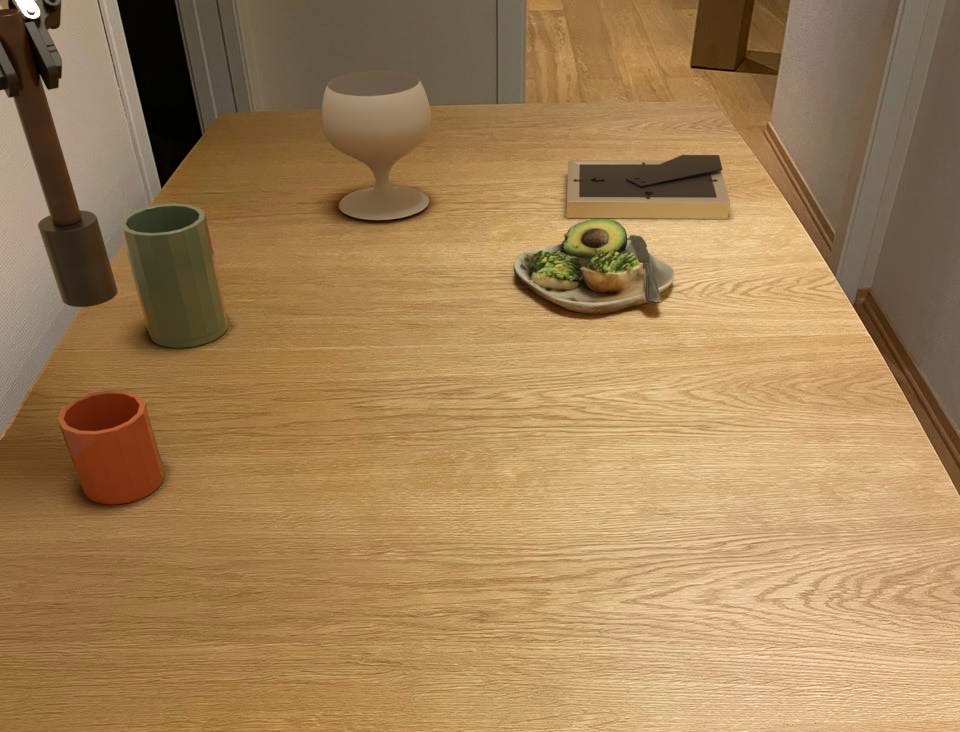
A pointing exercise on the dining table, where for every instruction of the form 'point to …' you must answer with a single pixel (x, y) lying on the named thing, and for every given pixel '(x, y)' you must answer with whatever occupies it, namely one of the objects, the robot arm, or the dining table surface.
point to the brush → (56, 183)
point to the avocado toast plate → (595, 270)
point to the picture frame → (648, 188)
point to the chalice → (378, 136)
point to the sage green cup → (175, 274)
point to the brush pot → (112, 446)
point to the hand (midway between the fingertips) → (33, 85)
